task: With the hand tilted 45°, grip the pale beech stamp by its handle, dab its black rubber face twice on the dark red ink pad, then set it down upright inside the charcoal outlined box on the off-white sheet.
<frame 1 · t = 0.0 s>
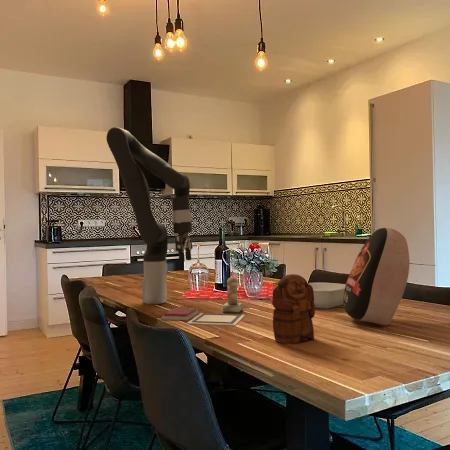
hand: (185, 261, 188), 17 cm above the table, tool pointing down, fingers open, 8 cm apart
print sheet: (217, 319, 155), on the table
stamp: (232, 311, 169), on the table
ink pad: (180, 316, 161), on the table
square bowl: (320, 305, 179), on the table
wooden figurine: (295, 341, 126), on the table
packaged food: (375, 322, 147), on the table
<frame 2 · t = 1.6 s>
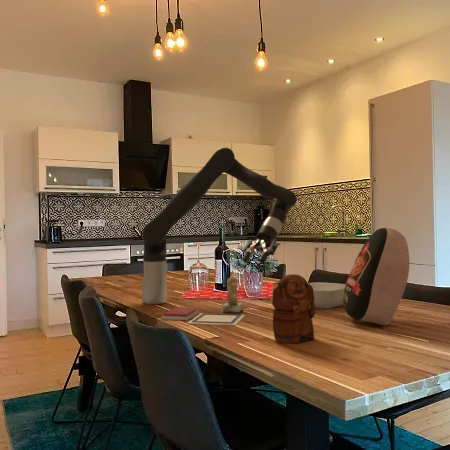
hand: (252, 262, 177), 17 cm above the table, tool tilted 45°, fingers open, 8 cm apart
nothing on the table moved.
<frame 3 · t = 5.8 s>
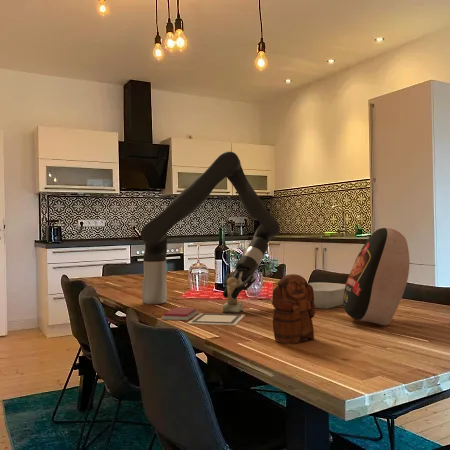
hand: (228, 296, 167), 6 cm above the table, tool tilted 45°, fingers closed on stamp, 3 cm apart
stamp: (232, 311, 169), on the table, touching gripper
everything else where it was.
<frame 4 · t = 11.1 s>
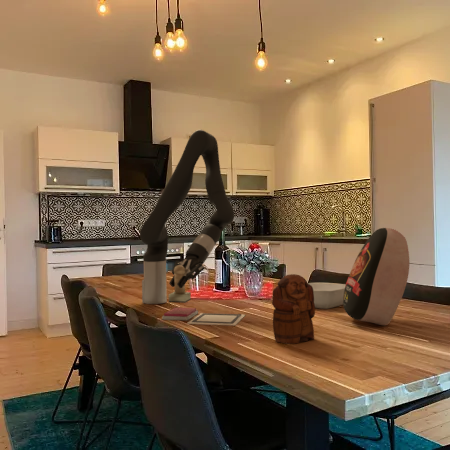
hand: (175, 285, 160), 11 cm above the table, tool tilted 45°, fingers closed on stamp, 3 cm apart
stamp: (179, 301, 161), point 5 cm above the table, touching gripper
everything else where it was.
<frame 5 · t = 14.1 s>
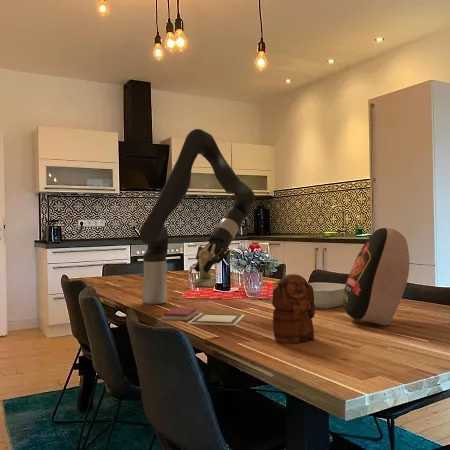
hand: (200, 270, 155), 16 cm above the table, tool tilted 45°, fingers closed on stamp, 3 cm apart
stamp: (205, 286, 157), point 11 cm above the table, touching gripper
everything else where it was.
when the fingers open (7 cm above the table, at t = 16.6 s): stamp drops 1 cm, resting on print sheet.
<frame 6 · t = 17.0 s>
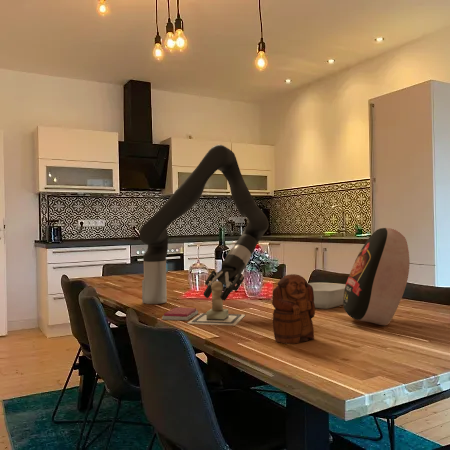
hand: (213, 297, 154), 8 cm above the table, tool tilted 45°, fingers open, 7 cm apart
stamp: (217, 318, 155), resting on print sheet
everything else where it was.
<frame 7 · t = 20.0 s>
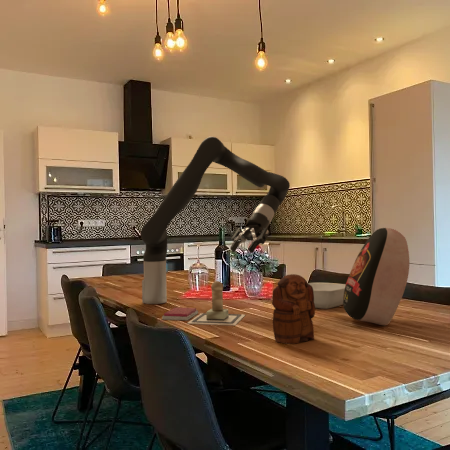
hand: (241, 250, 164), 22 cm above the table, tool tilted 45°, fingers open, 8 cm apart
nothing on the table moved.
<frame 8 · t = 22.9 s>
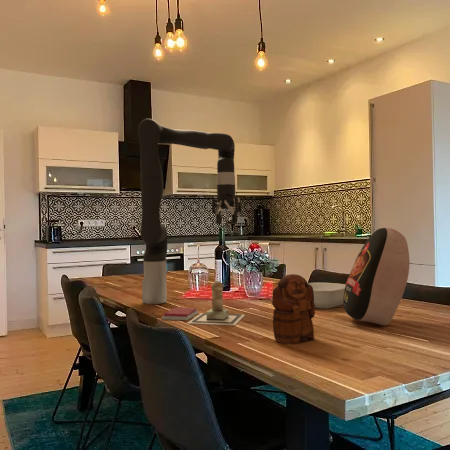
hand: (226, 223, 188), 32 cm above the table, tool pointing down, fingers open, 8 cm apart
nothing on the table moved.
at the end: stamp inside the target area on the print sheet (0.2 cm from its centre), point 0.3 cm above the print sheet's base; stamp tilted 0°; the gripper is holding nothing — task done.
